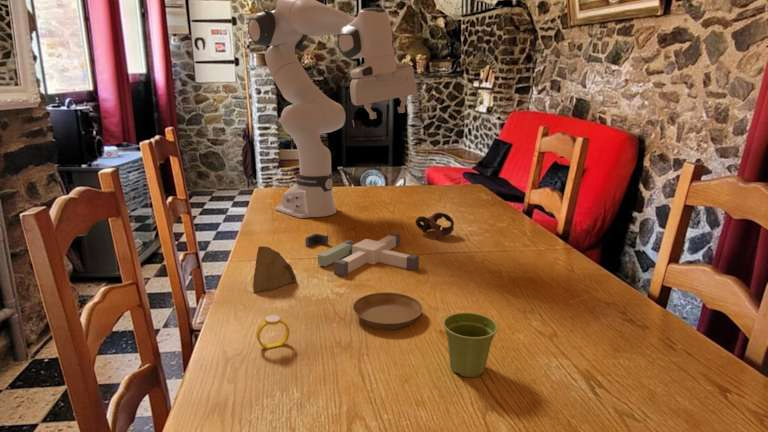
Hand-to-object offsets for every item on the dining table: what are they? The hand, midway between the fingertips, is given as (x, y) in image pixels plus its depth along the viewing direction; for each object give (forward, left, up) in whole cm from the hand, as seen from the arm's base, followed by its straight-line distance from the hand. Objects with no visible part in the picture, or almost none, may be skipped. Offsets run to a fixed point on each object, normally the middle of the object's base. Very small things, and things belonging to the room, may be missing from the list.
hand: (387, 115), depth 153 cm
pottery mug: (+12, +9, -37) cm, 40 cm away
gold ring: (+17, -68, -37) cm, 80 cm away
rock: (-2, -47, -37) cm, 60 cm away
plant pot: (+51, -55, -37) cm, 84 cm away
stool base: (+11, -19, -37) cm, 43 cm away
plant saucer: (+29, -46, -38) cm, 66 cm away
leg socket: (-12, -19, -37) cm, 44 cm away
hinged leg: (0, -25, -37) cm, 45 cm away
